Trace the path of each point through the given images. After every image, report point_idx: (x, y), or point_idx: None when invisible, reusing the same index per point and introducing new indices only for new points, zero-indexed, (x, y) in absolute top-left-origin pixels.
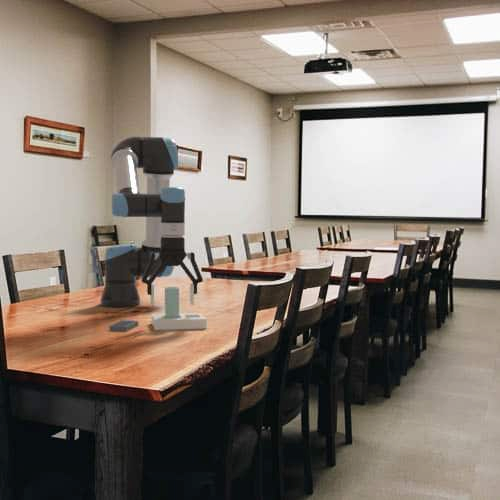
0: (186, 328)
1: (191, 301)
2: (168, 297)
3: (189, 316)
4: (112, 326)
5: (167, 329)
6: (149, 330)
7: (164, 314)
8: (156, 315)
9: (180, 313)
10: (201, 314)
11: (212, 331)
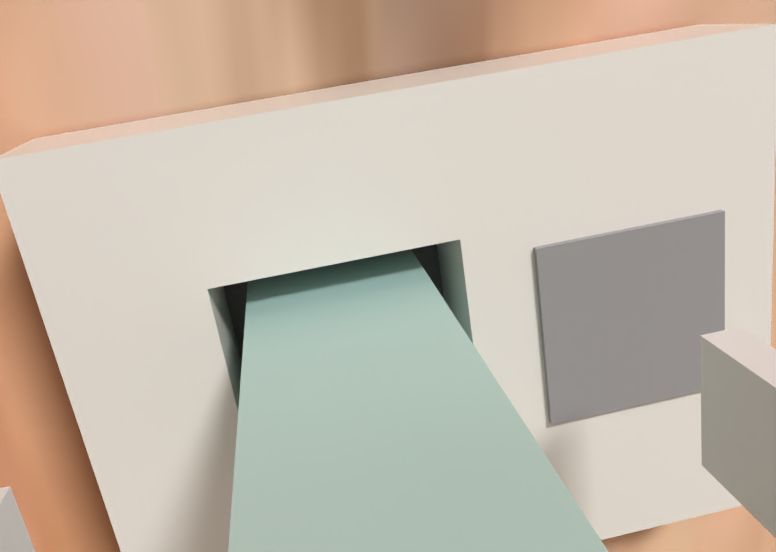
0: None
1: (738, 498)
2: None
3: (590, 385)
4: None
5: None
6: (103, 545)
7: (222, 188)
8: (105, 290)
9: (476, 77)
10: (769, 171)
11: (734, 530)
